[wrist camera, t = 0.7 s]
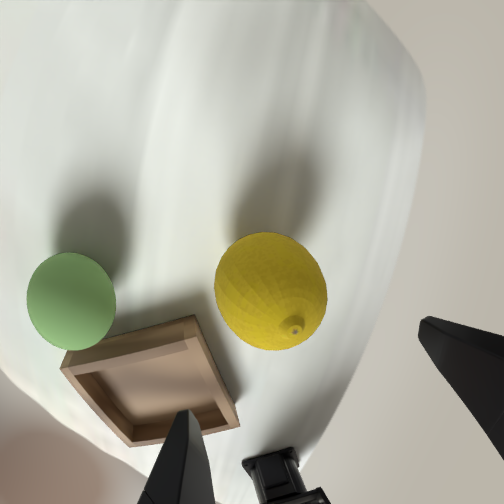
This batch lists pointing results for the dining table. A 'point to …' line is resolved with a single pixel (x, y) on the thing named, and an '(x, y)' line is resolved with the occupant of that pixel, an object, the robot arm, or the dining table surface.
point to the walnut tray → (152, 382)
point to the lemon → (270, 291)
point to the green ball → (71, 301)
